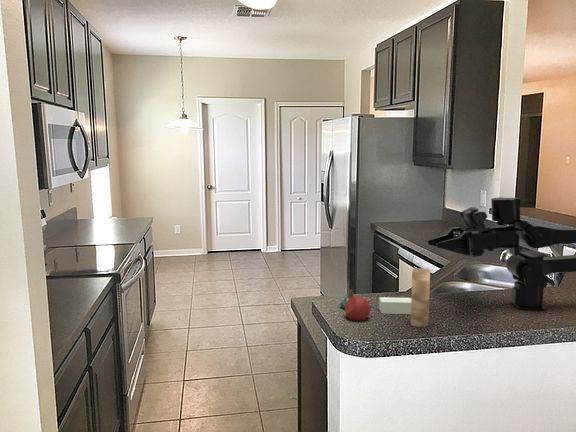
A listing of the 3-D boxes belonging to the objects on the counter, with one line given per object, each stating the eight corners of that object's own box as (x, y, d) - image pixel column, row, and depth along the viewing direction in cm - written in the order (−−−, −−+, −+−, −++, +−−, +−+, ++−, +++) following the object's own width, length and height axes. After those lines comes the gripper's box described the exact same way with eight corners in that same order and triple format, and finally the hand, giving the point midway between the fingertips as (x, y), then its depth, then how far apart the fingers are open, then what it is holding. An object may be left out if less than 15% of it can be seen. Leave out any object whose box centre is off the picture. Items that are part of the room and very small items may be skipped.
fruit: (368, 329, 118) (384, 300, 118) (349, 320, 116) (365, 290, 116) (358, 321, 123) (373, 293, 124) (339, 311, 122) (355, 283, 122)
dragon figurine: (355, 297, 134) (336, 291, 129) (377, 292, 129) (359, 286, 124) (356, 321, 131) (337, 316, 126) (379, 317, 126) (360, 311, 121)
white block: (410, 309, 126) (410, 297, 126) (413, 314, 122) (413, 302, 122) (379, 308, 127) (379, 297, 126) (381, 313, 123) (381, 302, 122)
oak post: (426, 321, 117) (428, 268, 116) (429, 327, 113) (431, 272, 112) (409, 321, 118) (410, 268, 116) (412, 327, 114) (414, 272, 112)
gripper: (478, 207, 136) (421, 212, 136) (505, 207, 117) (439, 213, 118) (481, 247, 136) (424, 252, 137) (508, 254, 117) (442, 259, 118)
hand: (432, 243), depth 127 cm, fingers open, 9 cm apart
